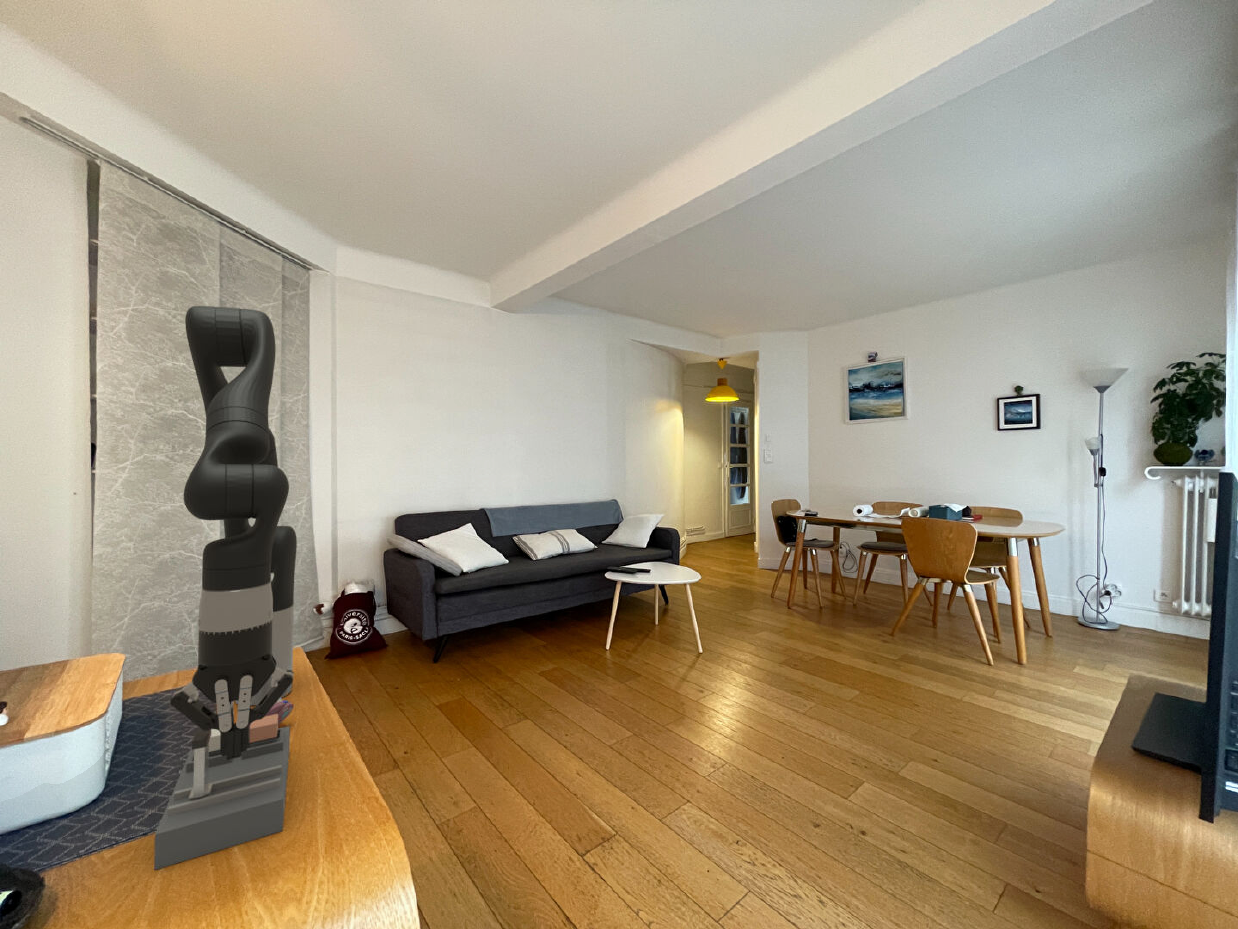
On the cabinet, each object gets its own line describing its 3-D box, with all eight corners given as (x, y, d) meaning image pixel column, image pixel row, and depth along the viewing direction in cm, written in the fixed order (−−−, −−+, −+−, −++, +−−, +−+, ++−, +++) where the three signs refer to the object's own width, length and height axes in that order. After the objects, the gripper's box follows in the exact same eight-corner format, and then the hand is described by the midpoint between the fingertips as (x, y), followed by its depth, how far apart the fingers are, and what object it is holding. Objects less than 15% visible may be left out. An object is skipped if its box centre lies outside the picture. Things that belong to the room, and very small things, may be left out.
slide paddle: (193, 793, 63) (194, 730, 63) (213, 788, 64) (214, 726, 64) (187, 808, 60) (188, 742, 60) (208, 803, 61) (209, 738, 61)
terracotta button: (252, 732, 74) (252, 719, 74) (277, 727, 76) (278, 713, 76) (249, 743, 71) (249, 729, 71) (276, 736, 73) (276, 723, 73)
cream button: (199, 743, 71) (200, 729, 71) (228, 737, 73) (228, 724, 73) (195, 755, 68) (195, 740, 68) (224, 748, 70) (225, 734, 70)
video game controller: (233, 765, 78) (251, 728, 78) (212, 749, 79) (229, 712, 78) (287, 732, 88) (303, 699, 87) (267, 718, 89) (283, 685, 88)
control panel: (191, 774, 73) (191, 739, 73) (289, 751, 79) (289, 718, 79) (154, 870, 56) (155, 824, 56) (282, 831, 62) (283, 789, 62)
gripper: (299, 605, 71) (297, 728, 71) (176, 619, 64) (173, 755, 64) (297, 620, 64) (295, 755, 64) (160, 637, 57) (157, 788, 57)
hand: (234, 755), depth 64 cm, fingers closed
